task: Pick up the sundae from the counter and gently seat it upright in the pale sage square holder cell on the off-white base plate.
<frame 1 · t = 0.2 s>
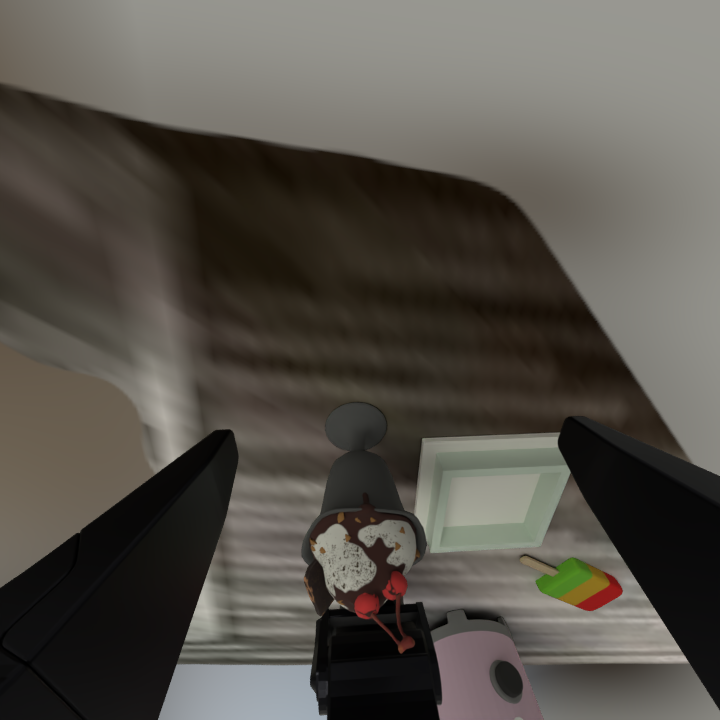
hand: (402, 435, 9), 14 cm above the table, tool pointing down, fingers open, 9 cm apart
holder cell: (484, 488, 30), on the table
sundae: (355, 424, 26), on the table
popsicle: (559, 568, 38), on the table
blender: (465, 624, 43), on the table
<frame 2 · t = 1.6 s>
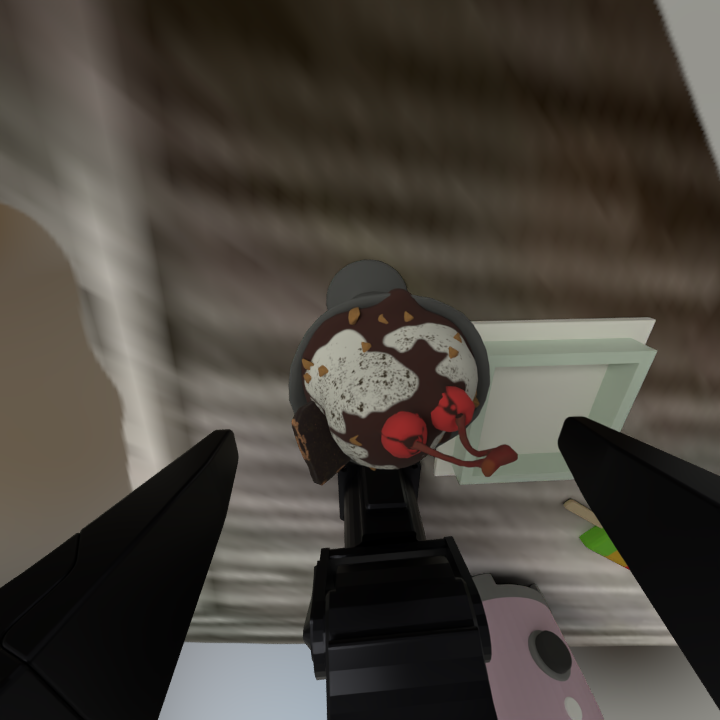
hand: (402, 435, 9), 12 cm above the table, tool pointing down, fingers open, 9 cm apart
holder cell: (529, 403, 24), on the table
sundae: (367, 299, 20), on the table
popsicle: (607, 520, 32), on the table
blender: (491, 593, 36), on the table
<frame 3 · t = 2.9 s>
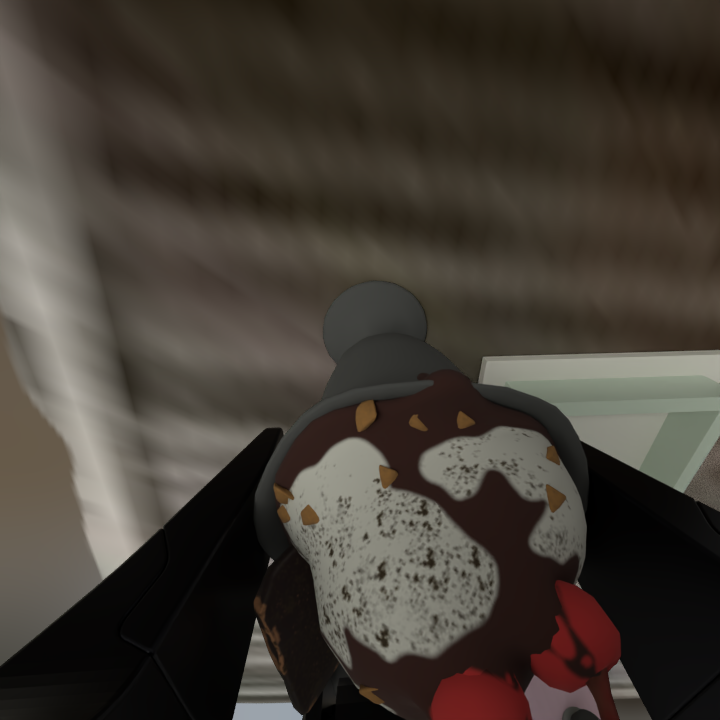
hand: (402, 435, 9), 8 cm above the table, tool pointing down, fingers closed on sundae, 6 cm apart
holder cell: (569, 449, 20), on the table
sundae: (374, 329, 16), on the table, touching gripper
blender: (512, 649, 32), on the table
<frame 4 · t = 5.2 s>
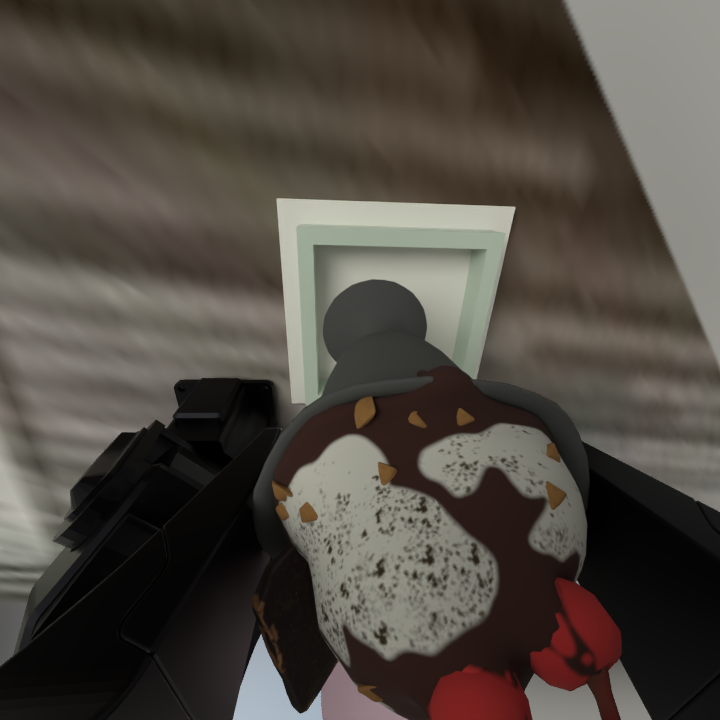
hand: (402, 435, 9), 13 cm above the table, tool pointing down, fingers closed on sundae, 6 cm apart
holder cell: (388, 314, 21), on the table
sundae: (374, 328, 16), point 5 cm above the table, touching gripper
blender: (390, 557, 33), on the table
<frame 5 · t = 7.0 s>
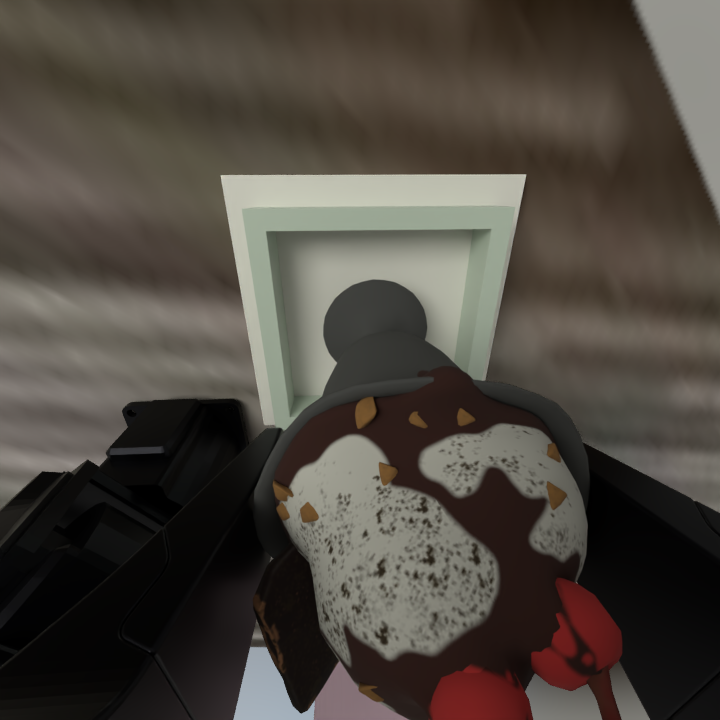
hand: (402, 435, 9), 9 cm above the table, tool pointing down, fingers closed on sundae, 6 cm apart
holder cell: (373, 316, 17), on the table
sundae: (375, 328, 16), point 2 cm above the table, touching gripper
blender: (392, 587, 29), on the table
when the fingers open (9 cm above the table, at t = 7.1 s): sundae drops 1 cm, resting on holder cell.
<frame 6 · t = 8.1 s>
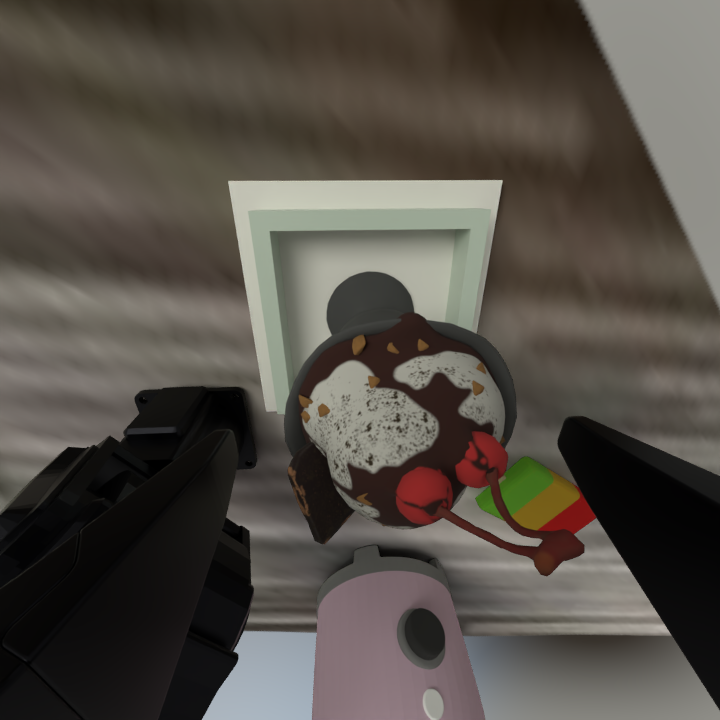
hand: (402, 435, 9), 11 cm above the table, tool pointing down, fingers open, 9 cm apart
holder cell: (366, 309, 19), on the table
sundae: (370, 313, 18), resting on holder cell
popsicle: (510, 478, 27), on the table
blender: (387, 571, 31), on the table
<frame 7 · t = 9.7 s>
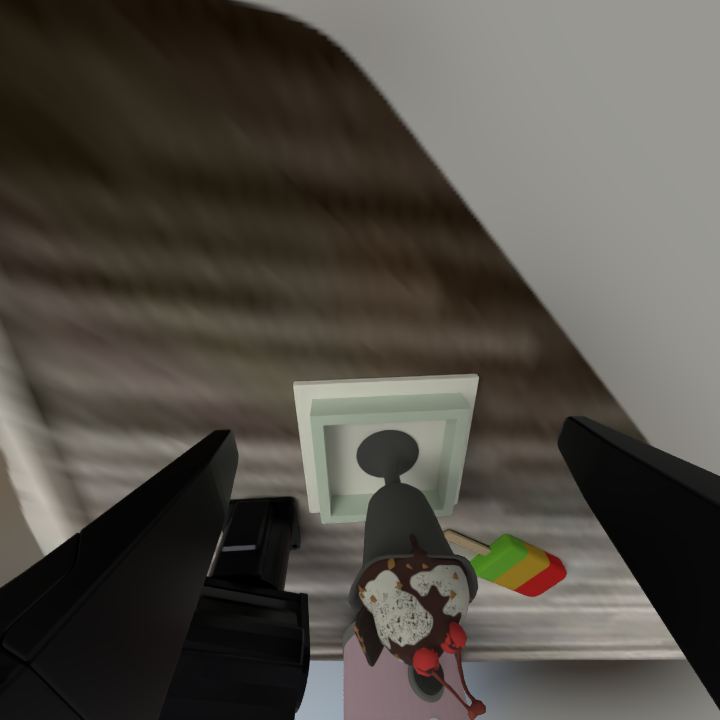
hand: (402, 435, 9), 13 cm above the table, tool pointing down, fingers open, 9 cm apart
holder cell: (384, 447, 26), on the table
sundae: (387, 451, 26), resting on holder cell
popsicle: (495, 547, 34), on the table
blender: (398, 614, 38), on the table
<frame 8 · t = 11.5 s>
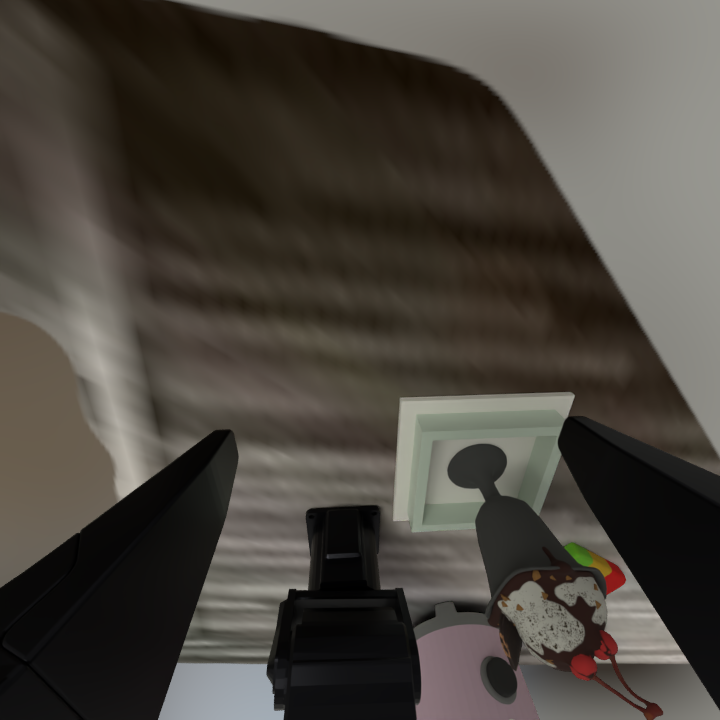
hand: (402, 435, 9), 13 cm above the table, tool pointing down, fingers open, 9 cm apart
holder cell: (472, 460, 27), on the table
sundae: (475, 463, 27), resting on holder cell
popsicle: (557, 554, 35), on the table
blender: (456, 618, 39), on the table
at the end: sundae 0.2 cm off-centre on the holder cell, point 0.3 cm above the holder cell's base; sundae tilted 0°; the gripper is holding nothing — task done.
